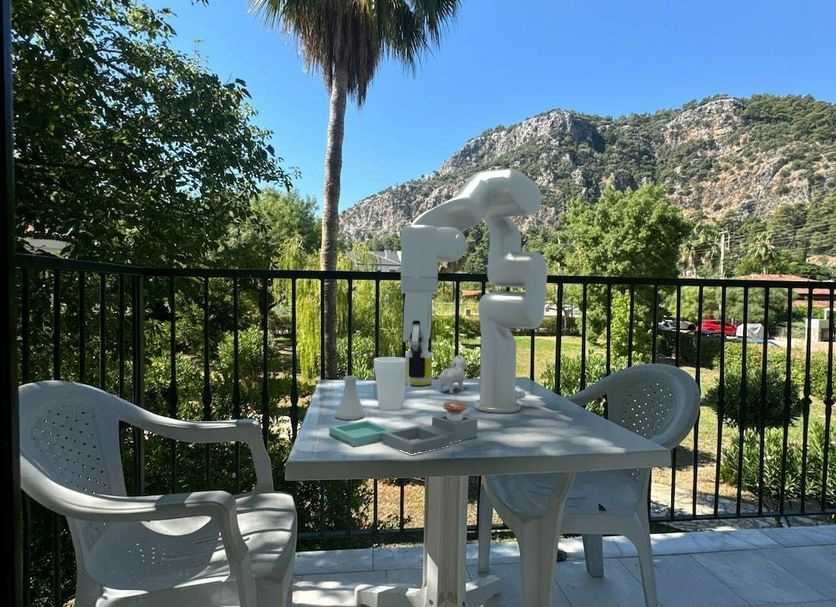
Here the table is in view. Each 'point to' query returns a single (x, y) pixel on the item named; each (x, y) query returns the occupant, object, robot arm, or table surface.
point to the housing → (431, 434)
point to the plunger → (455, 410)
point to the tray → (358, 432)
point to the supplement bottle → (425, 382)
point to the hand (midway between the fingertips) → (418, 373)
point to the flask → (350, 401)
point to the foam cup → (390, 382)
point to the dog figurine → (453, 374)
